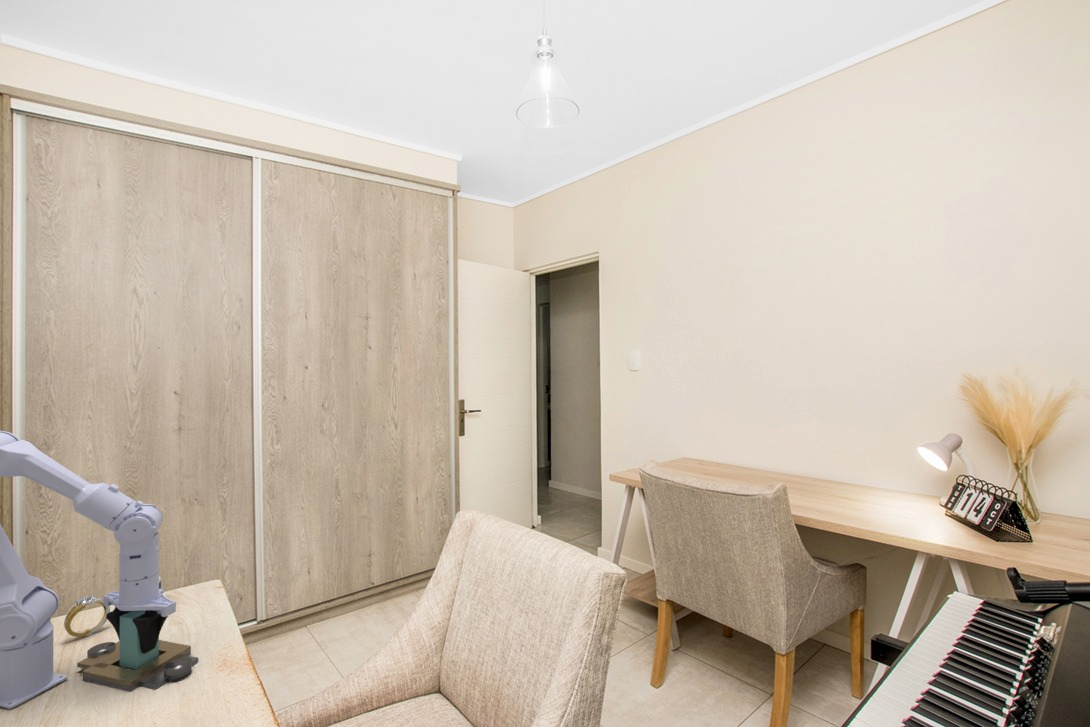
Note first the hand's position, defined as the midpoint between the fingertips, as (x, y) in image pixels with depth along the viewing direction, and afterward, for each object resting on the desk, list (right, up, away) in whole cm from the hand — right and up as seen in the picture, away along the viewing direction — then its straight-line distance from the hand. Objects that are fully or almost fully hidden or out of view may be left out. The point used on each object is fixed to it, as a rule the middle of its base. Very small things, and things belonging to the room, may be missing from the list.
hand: (139, 648), depth 92 cm
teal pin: (0, -2, 0) cm, 3 cm away
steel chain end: (+3, -3, -1) cm, 4 cm away
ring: (-18, -3, +10) cm, 21 cm away
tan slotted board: (-3, -3, +1) cm, 4 cm away
